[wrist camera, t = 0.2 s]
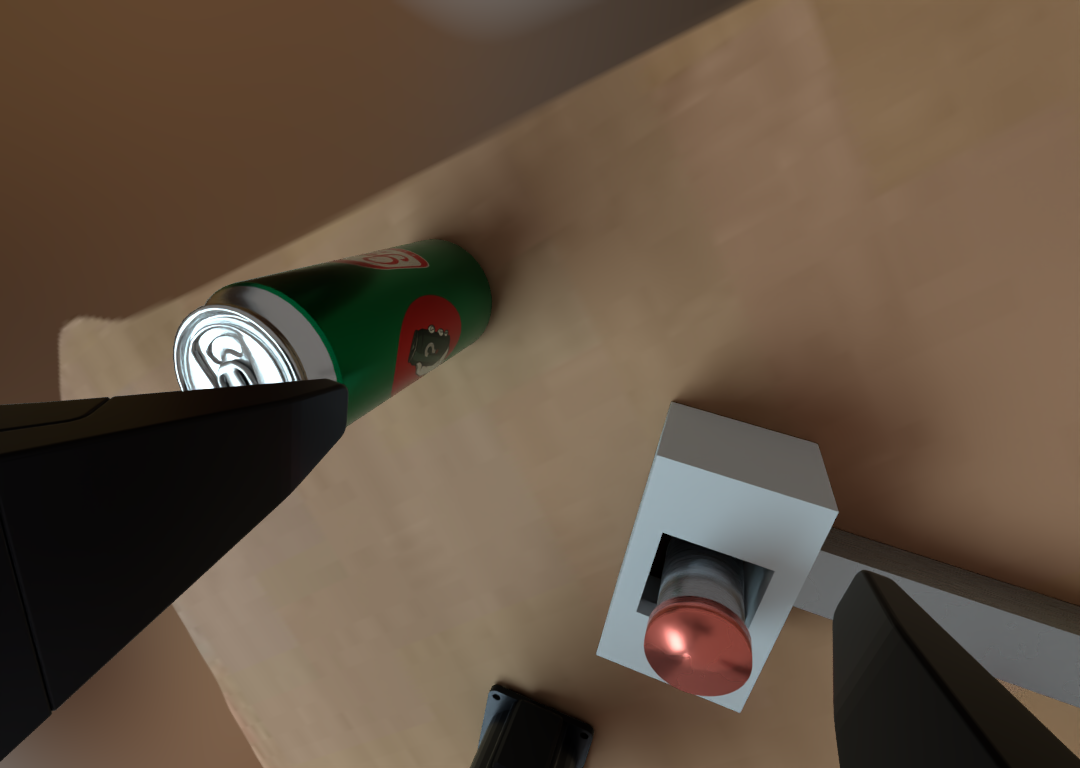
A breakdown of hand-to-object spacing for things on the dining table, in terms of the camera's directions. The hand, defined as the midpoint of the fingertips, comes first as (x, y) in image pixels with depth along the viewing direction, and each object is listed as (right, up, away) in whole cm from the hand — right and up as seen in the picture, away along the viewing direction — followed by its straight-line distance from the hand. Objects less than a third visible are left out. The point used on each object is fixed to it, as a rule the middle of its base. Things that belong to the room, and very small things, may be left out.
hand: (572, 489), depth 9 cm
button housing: (+7, -4, +16) cm, 18 cm away
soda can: (-5, +6, +16) cm, 18 cm away
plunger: (+6, -5, +13) cm, 15 cm away
